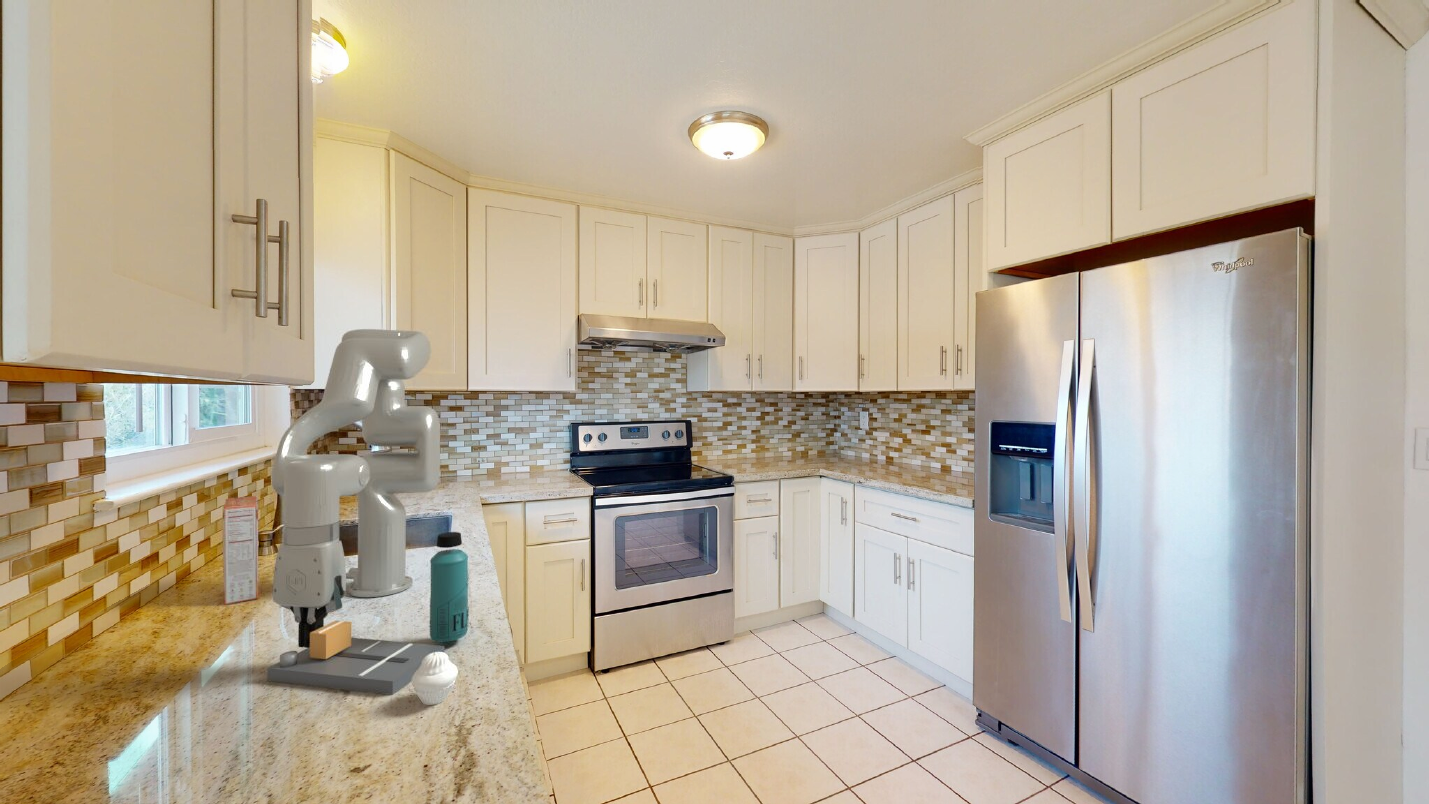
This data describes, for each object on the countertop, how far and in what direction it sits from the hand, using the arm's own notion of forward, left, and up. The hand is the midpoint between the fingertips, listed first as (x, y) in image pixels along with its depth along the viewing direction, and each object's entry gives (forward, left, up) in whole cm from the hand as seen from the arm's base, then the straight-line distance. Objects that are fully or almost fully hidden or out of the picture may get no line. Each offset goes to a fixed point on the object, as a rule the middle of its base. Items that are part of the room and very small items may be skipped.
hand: (311, 643), depth 92 cm
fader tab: (+4, 0, -1) cm, 4 cm away
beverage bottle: (+17, +11, -4) cm, 21 cm away
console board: (+9, 0, -3) cm, 10 cm away
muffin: (+27, -6, -4) cm, 28 cm away
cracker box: (-44, +25, -4) cm, 51 cm away
